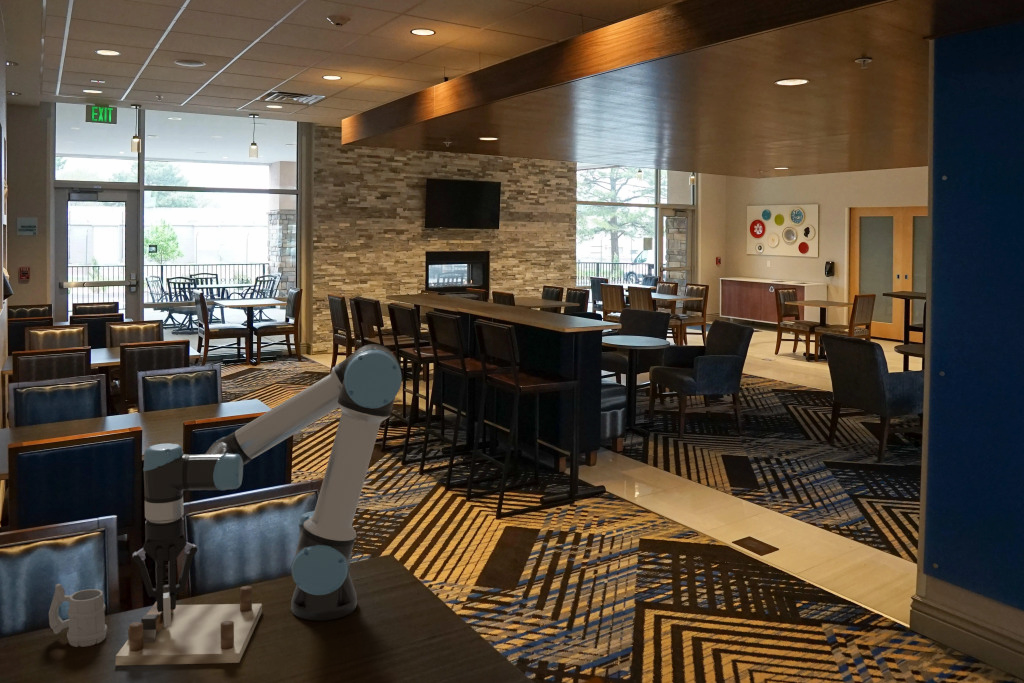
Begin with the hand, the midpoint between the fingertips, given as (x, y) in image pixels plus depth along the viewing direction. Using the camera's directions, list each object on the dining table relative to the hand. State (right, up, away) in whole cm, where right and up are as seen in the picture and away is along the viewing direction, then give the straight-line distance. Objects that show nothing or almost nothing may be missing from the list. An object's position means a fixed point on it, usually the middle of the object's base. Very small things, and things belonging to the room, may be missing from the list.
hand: (166, 624), depth 175 cm
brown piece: (-3, -1, +3) cm, 4 cm away
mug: (-19, -3, -1) cm, 19 cm away
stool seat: (+5, -3, +2) cm, 6 cm away
